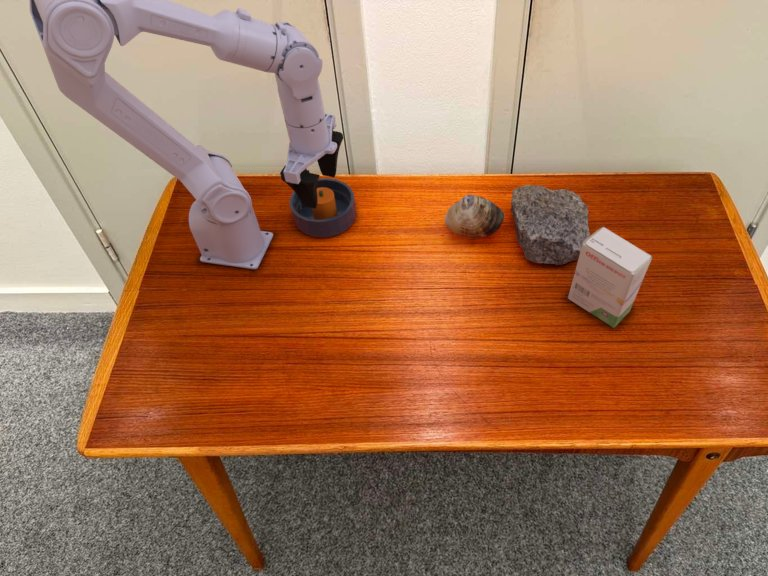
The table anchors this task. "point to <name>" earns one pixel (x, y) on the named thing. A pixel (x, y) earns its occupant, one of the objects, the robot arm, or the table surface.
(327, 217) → the squash
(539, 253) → the rock
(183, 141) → the robot arm
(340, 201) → the bowl
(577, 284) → the ink box
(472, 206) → the seashell
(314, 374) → the table surface
